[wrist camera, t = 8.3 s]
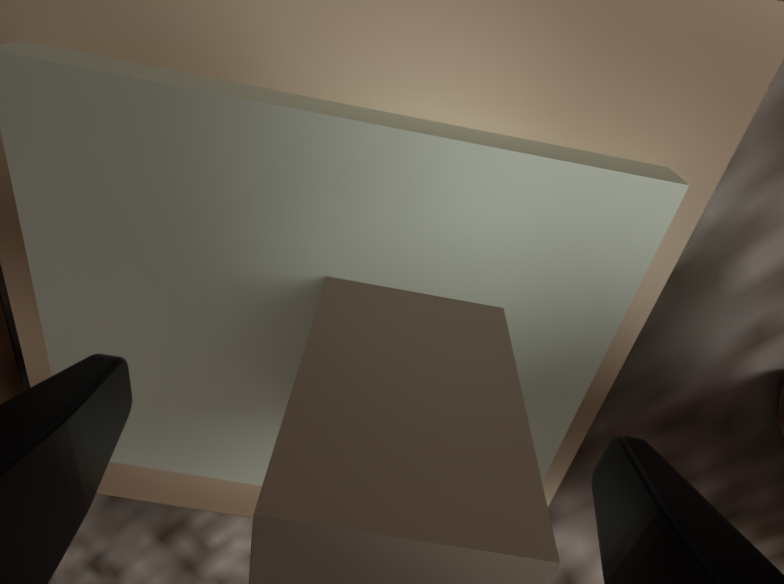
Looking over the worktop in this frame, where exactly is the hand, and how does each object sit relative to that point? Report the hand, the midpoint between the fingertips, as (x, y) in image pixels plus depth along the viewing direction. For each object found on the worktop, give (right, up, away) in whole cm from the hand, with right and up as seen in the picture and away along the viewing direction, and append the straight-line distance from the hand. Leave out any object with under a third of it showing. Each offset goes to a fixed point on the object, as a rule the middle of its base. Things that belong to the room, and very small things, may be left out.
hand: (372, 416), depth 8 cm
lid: (-1, +1, +2) cm, 3 cm away
